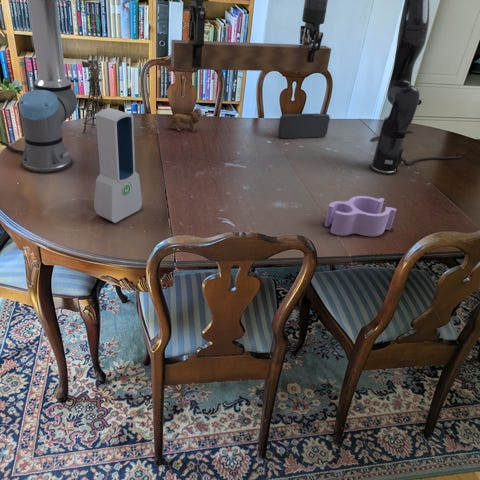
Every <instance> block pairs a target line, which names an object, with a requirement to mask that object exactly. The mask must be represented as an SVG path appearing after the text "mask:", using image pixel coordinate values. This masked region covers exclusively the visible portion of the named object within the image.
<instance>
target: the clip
mask: <svg viewBox="0 0 480 480" xmlns="http://www.w3.org/2000/svg"><path fill="white" fill-rule="evenodd" d="M384 201H385V198H383V197H379V198H376V197H373V196H368V195H357V196H352V197H350V198H349V200H347V201H339V200H338V201H337V200H335V201H332V202H330V203H329V205H328V208H327V214H326V218H325V222H324V227H326V228H329V227H330V226H331V227H330V233H331V234H333V235H336V236H348V235H353V234H356V235H360V236H364V237H365V236H366V237H378V236H381V235H382V234H384V232H385V230H387V231H391V229H392V226H393V222H394V219H395V216H396V213H397V210H398V209H397V208H395V207H391V206H385V207H384V211H383V212H382V209H383V206H384Z"/></svg>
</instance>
